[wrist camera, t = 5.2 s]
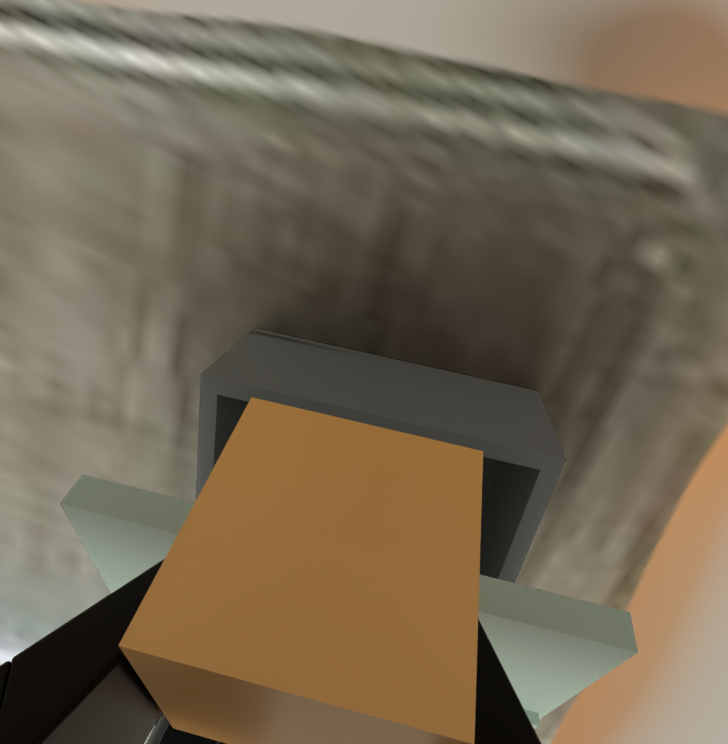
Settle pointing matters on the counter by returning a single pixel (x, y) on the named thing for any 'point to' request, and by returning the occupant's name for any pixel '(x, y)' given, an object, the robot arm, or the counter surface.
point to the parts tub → (400, 422)
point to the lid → (332, 590)
